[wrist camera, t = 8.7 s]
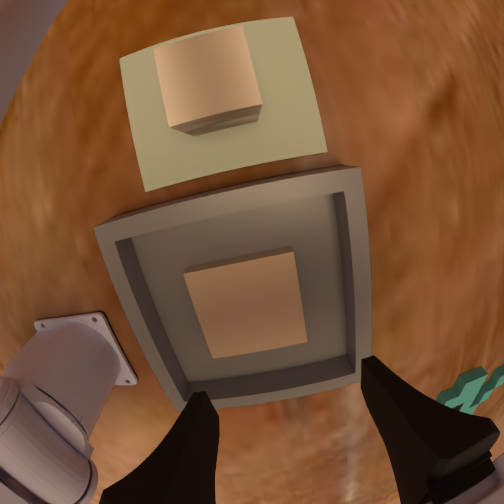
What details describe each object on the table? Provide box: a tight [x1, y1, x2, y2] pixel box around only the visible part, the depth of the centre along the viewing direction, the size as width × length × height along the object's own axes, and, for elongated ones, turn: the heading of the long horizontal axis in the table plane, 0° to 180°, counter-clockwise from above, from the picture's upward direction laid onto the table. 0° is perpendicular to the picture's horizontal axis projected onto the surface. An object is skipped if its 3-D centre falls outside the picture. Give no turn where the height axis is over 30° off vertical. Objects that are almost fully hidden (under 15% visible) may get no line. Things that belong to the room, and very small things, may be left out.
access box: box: [93, 165, 372, 411], centre depth 19 cm, size 16×16×3 cm
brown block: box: [154, 26, 262, 137], centre depth 13 cm, size 4×4×6 cm
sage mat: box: [120, 17, 327, 192], centre depth 16 cm, size 12×10×1 cm
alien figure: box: [436, 364, 504, 415], centre depth 28 cm, size 20×2×20 cm
